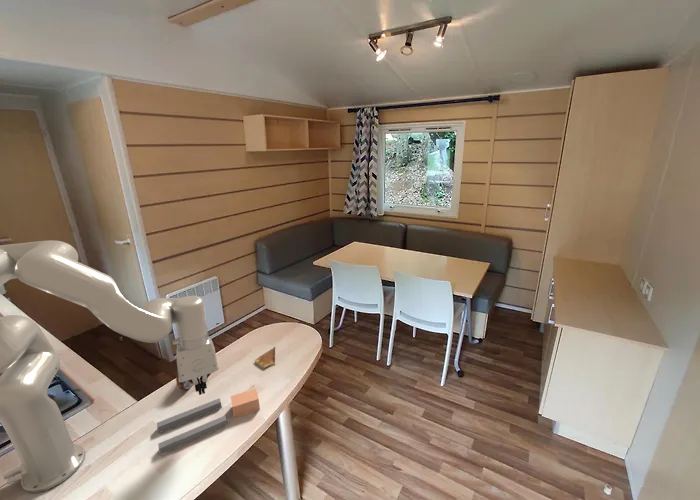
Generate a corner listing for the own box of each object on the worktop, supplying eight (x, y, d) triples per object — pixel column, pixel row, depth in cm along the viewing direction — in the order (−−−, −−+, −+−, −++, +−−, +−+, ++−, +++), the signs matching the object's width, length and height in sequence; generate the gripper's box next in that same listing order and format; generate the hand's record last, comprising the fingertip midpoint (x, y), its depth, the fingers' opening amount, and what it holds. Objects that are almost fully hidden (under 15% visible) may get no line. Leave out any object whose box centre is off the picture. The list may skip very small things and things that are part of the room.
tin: (186, 394, 110) (181, 374, 107) (177, 394, 110) (172, 374, 107) (208, 365, 124) (204, 347, 121) (200, 364, 124) (196, 346, 121)
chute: (160, 454, 89) (158, 449, 88) (158, 428, 97) (156, 422, 96) (227, 425, 98) (226, 419, 97) (220, 403, 106) (219, 398, 105)
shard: (275, 349, 133) (275, 346, 133) (287, 356, 129) (287, 352, 128) (253, 363, 125) (253, 359, 125) (266, 371, 121) (266, 367, 120)
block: (234, 418, 100) (232, 407, 99) (232, 406, 105) (230, 396, 103) (260, 409, 104) (258, 398, 102) (257, 398, 108) (256, 388, 106)
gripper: (164, 354, 83) (174, 409, 89) (224, 338, 91) (230, 390, 96) (162, 339, 89) (172, 392, 95) (219, 325, 97) (224, 375, 102)
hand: (201, 391), depth 96 cm, fingers closed
